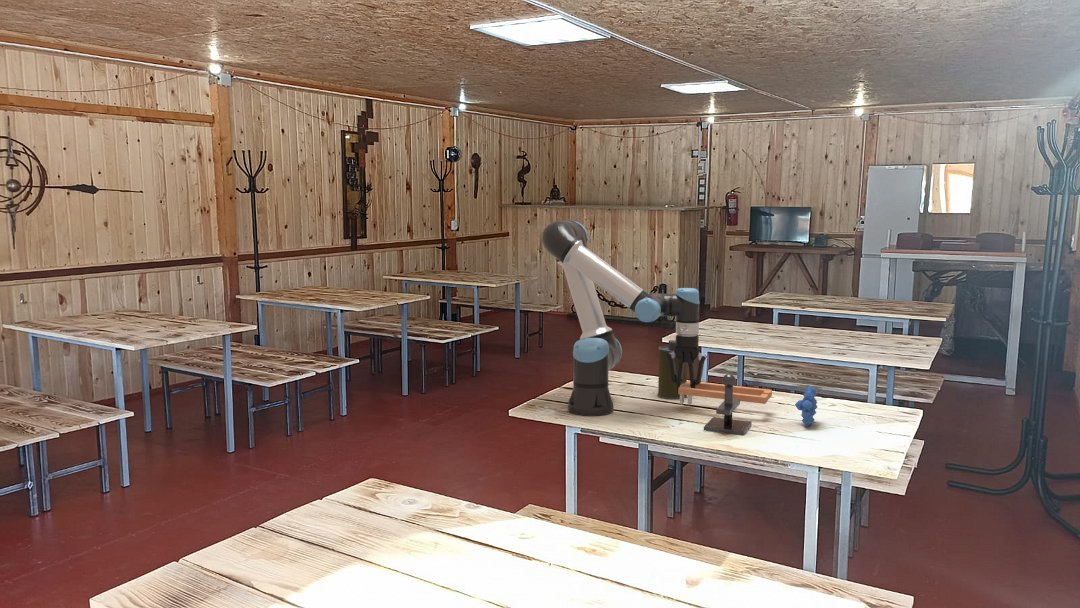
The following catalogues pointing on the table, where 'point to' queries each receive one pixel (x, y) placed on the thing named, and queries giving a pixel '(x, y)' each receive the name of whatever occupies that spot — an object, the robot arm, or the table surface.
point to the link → (719, 392)
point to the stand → (728, 412)
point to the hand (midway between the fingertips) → (685, 403)
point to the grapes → (808, 406)
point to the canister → (669, 373)
